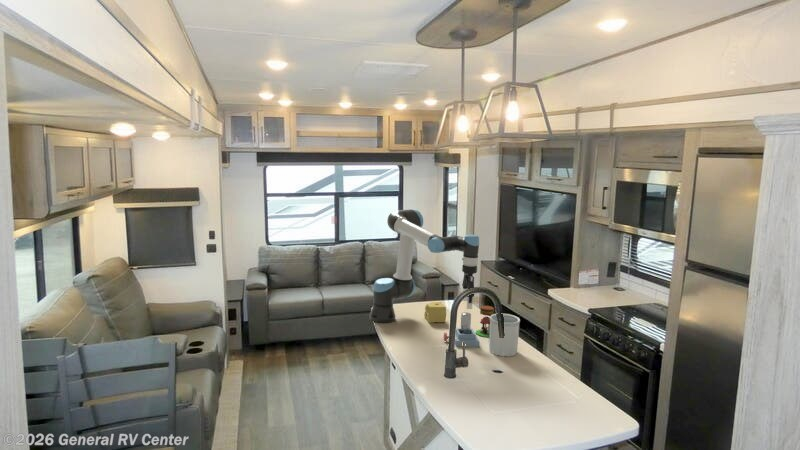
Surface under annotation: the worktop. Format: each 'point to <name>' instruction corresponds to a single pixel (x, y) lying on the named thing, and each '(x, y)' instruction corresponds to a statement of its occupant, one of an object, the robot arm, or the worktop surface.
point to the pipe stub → (465, 323)
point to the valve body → (464, 338)
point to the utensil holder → (510, 339)
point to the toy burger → (485, 321)
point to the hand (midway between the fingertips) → (466, 304)
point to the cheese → (435, 312)
